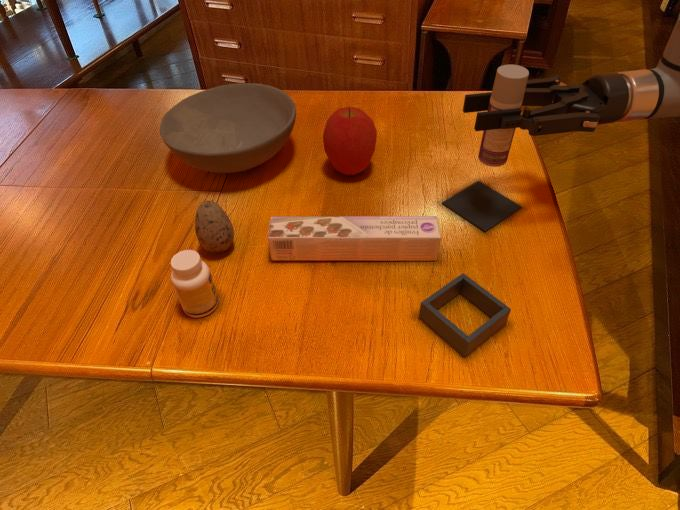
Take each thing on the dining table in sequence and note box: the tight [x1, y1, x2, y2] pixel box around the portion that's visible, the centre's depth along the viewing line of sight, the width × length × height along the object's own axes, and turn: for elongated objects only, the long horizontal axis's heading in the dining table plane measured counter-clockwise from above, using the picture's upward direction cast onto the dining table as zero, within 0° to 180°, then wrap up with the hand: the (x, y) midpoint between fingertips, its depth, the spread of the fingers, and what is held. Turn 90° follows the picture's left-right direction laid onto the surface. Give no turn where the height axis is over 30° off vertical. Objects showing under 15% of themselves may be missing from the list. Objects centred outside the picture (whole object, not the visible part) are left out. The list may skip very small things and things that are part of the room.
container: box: [477, 64, 530, 168], centre depth 75 cm, size 5×5×15 cm
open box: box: [418, 272, 512, 358], centre depth 69 cm, size 9×9×4 cm
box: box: [267, 215, 442, 262], centre depth 79 cm, size 27×5×6 cm, turn 89°
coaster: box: [441, 180, 523, 233], centre depth 88 cm, size 10×10×1 cm
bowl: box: [159, 82, 297, 174], centre depth 97 cm, size 26×26×10 cm
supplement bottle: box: [170, 249, 219, 318], centre depth 70 cm, size 5×5×10 cm
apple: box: [322, 105, 378, 176], centre depth 92 cm, size 10×10×14 cm
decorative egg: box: [194, 200, 235, 254], centre depth 78 cm, size 6×6×10 cm
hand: (470, 112), depth 74 cm, fingers closed on container, 5 cm apart
